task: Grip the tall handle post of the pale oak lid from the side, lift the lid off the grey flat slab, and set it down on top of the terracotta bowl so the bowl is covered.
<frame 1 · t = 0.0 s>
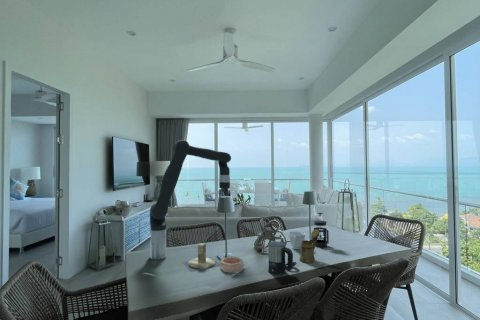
hand: (224, 204, 190), 29 cm above the table, tool pointing down, fingers open, 8 cm apart
milk frother: (282, 270, 146), on the table
wooden mug: (310, 260, 162), on the table
grey flat slab: (201, 265, 154), on the table
teacup: (296, 249, 184), on the table
oak lid: (201, 264, 154), point 1 cm above the table, touching grey flat slab
french press: (321, 246, 190), on the table
terracotta bowl: (231, 269, 147), on the table
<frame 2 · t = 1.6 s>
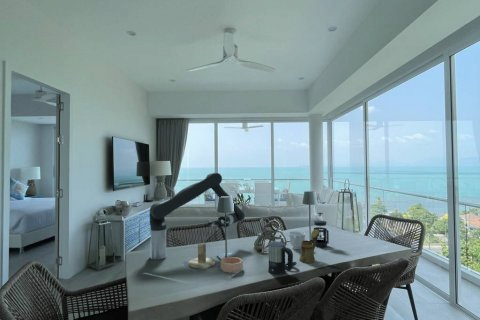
hand: (212, 225, 164), 20 cm above the table, tool horizontal, fingers open, 8 cm apart
nothing on the table moved.
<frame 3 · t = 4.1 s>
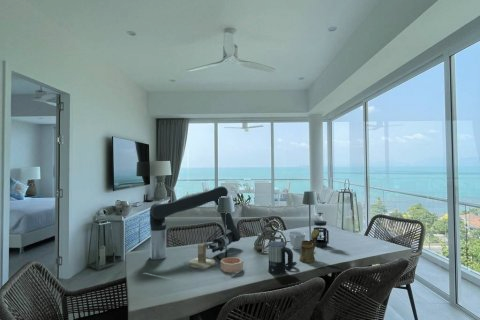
hand: (206, 249, 158), 7 cm above the table, tool horizontal, fingers open, 8 cm apart
nothing on the table moved.
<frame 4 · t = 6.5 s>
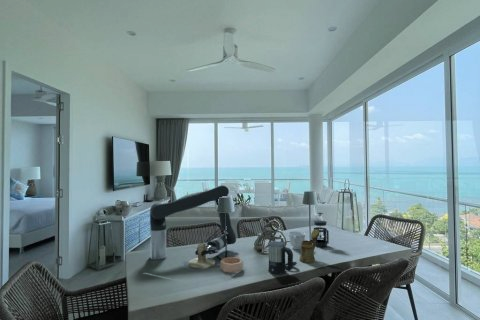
hand: (198, 253, 151), 8 cm above the table, tool horizontal, fingers closed on oak lid, 3 cm apart
oak lid: (201, 264, 154), point 1 cm above the table, touching grey flat slab, gripper
everything else where it was.
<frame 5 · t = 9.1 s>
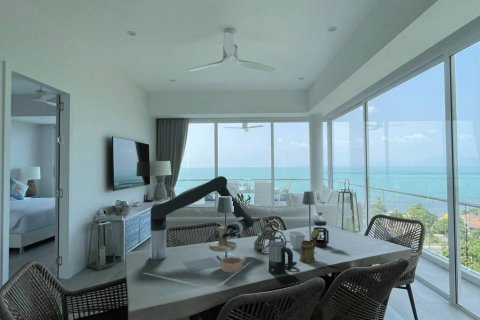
hand: (220, 236, 147), 18 cm above the table, tool horizontal, fingers closed on oak lid, 3 cm apart
oak lid: (222, 247, 150), point 11 cm above the table, touching gripper
everything else where it was.
when the fingers open (13 cm above the table, at t = 11.5 s): oak lid drops 1 cm, resting on terracotta bowl.
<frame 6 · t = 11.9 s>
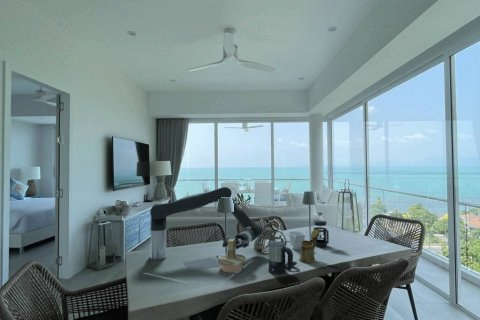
hand: (229, 246, 145), 13 cm above the table, tool horizontal, fingers open, 7 cm apart
oak lid: (231, 260, 147), point 5 cm above the table, touching terracotta bowl
everything else where it was.
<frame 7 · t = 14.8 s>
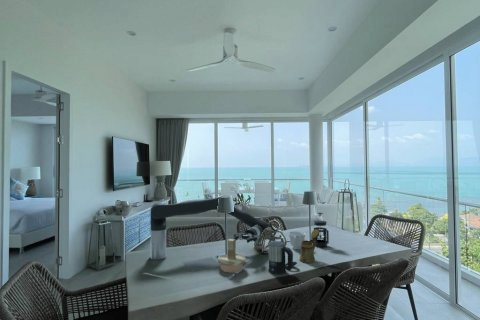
hand: (240, 240, 157), 13 cm above the table, tool horizontal, fingers open, 8 cm apart
nothing on the table moved.
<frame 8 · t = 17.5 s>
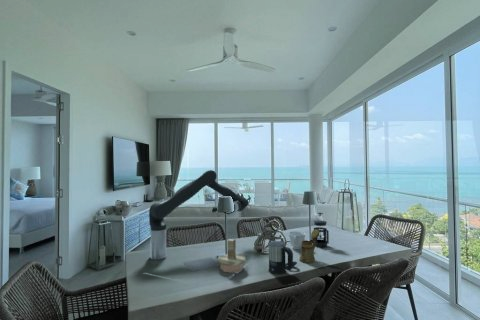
hand: (218, 211, 170), 28 cm above the table, tool horizontal, fingers open, 8 cm apart
nothing on the table moved.
at the end: oak lid 0.1 cm off-centre on the terracotta bowl, point 5.0 cm above the terracotta bowl's base; oak lid tilted 0°; the gripper is holding nothing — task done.
